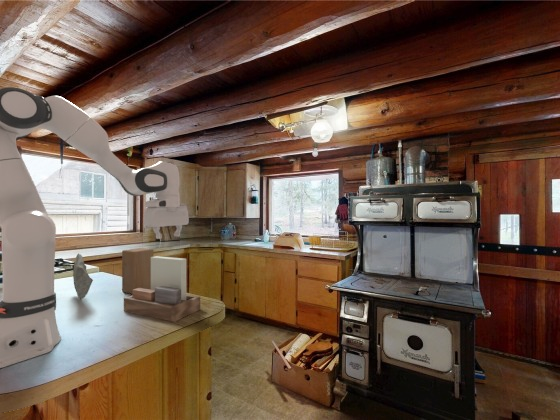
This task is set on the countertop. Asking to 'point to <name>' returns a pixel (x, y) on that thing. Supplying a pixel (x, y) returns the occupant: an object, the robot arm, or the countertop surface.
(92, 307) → the countertop surface
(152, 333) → the countertop surface
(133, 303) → the walnut tray
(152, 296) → the cedar offcut
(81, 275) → the rock
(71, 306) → the countertop surface
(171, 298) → the charcoal offcut
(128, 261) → the wooden block
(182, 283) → the white rectangular panel
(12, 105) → the robot arm
